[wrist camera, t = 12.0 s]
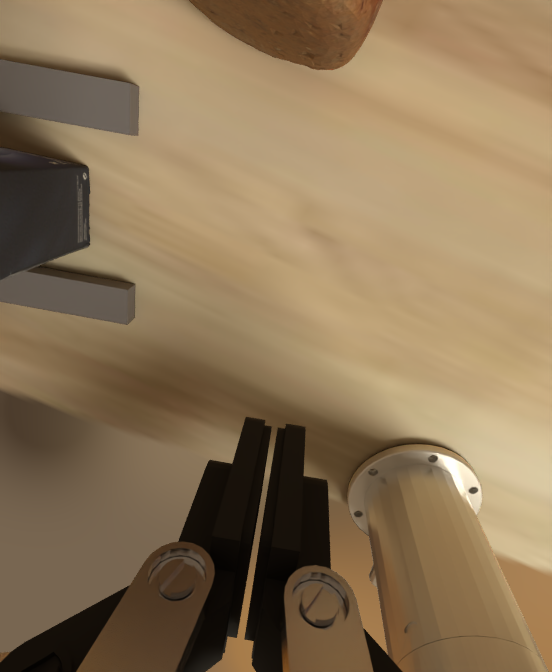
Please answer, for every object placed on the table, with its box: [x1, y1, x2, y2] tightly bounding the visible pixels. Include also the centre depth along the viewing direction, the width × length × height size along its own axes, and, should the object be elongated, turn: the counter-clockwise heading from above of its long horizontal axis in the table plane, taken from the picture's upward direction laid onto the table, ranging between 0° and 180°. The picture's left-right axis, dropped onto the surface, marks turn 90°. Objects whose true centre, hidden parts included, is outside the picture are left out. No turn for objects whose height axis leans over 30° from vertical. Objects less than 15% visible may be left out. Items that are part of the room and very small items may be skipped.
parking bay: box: [0, 59, 139, 325], centre depth 30 cm, size 17×17×2 cm
